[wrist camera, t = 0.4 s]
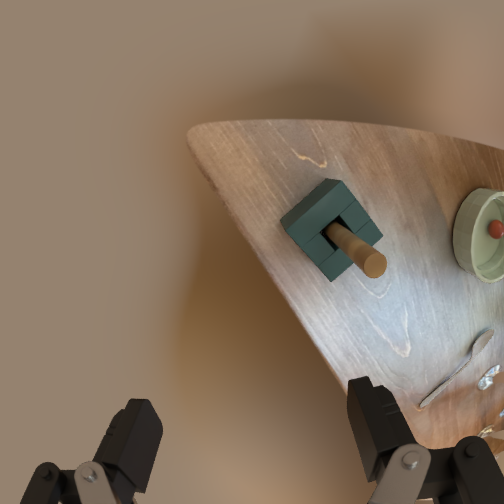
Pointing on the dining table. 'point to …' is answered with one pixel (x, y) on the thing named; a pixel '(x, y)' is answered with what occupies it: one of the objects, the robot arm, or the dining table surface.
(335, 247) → the holder
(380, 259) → the stick
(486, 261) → the bowl
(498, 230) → the ball
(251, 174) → the dining table surface
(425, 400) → the spoon
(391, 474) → the robot arm
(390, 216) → the dining table surface
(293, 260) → the dining table surface
